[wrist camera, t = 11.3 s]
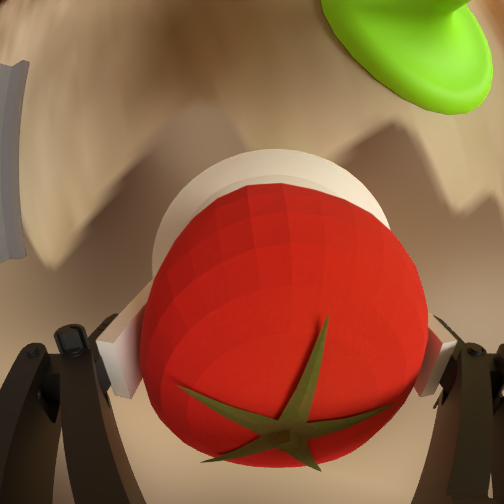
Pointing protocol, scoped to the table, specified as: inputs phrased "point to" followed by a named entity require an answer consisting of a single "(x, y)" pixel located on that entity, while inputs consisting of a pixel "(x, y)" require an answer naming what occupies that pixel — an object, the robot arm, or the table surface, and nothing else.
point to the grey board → (11, 160)
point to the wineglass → (418, 49)
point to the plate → (258, 172)
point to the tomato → (282, 328)
